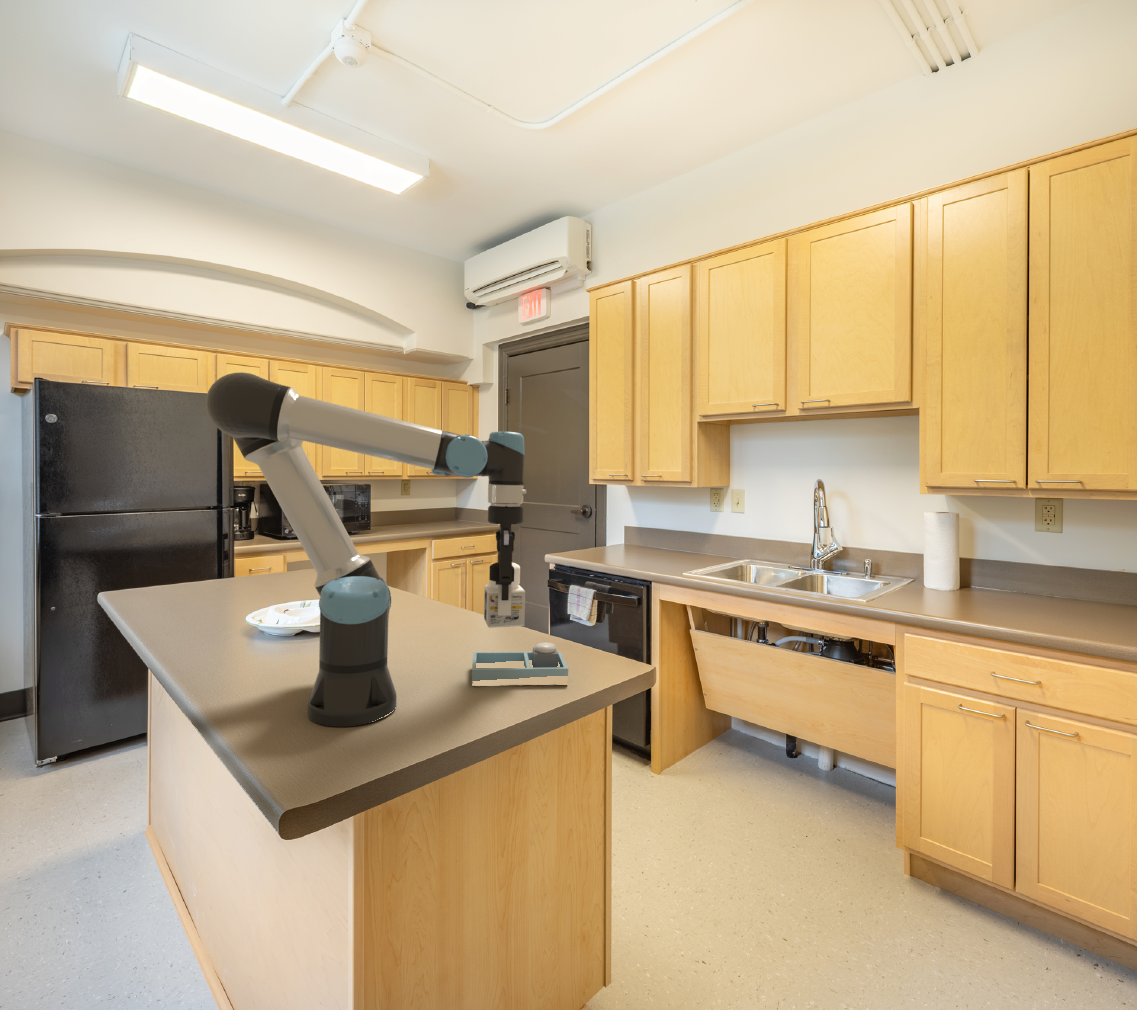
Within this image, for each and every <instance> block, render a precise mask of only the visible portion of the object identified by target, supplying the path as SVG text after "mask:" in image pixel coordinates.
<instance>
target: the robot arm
mask: <svg viewBox="0 0 1137 1010" xmlns="http://www.w3.org/2000/svg"><path fill="white" fill-rule="evenodd" d="M205 407H206V409H205V410H206V412H207V414H208V418H209V419H210V421H211V422H212V423H213V425H214V426H215V427H216V428H217V429H219V430H220V431H221V432H222V433H224V434H225V435H228V436H230V437H232V439H233V441H234V442H235V444H236V446H237V447H238V450H239V451H240V453H241V455H242V457H243V459H244V460H245V461H247V462H251V463H253V464H255V465H257V466H258V467H259V470H260V472H261V474H262V475H263V477H264V479H265V481H266V482H267V484H268V486H269V488H270V489H271V491H272V494H273V495H274V498H275V499H276V500H277V502H278V505H279V507H280V509H281V510H282V511H283V513H284V515H285V517H286V520H287V521H288V523H289V524H290V526H291V529H292V530H293V532H294V533H295V535H296V537H297V539H298V540H299V542H300V545H301V547H302V548H303V550H304V552H305V554H306V556H307V557H308V559H309V561H310V563H311V565H312V567H313V568H314V570H315V572H316V579H315V581H314V587H315V590H316V591H317V593H318V596H319V601H318V607H319V611H320V612H319V651H318V652H319V660H318V663H319V666H318V667H319V668H318V674H317V676H316V679H315V682H314V685H313V687H312V690H311V693H310V694H309V699H308V701H307V716H308V719H310V721H312V722H314V723H316V724H319V725H322V726H327V727H338V728H339V727H340V728H342V727H355V726H354V725H357V726H362V725H361V724H363V725H367V724H366V723H368V724H370V723H369V722H372V721H375V720H377V719H379V718H381V717H384V716H385V715H387V714H389V713H390V712H392V711H393V710H394V709H395V707H396V708H397V692H396V689H395V685H394V682H393V679H392V676H391V673H390V669H389V667H388V654H389V653H388V652H389V651H388V649H389V620H390V619H389V618H390V617H389V615H390V610H391V608H392V607H391V606H392V595H391V590H390V587H389V586H388V584H387V582H386V581H385V580H384V578H382V577H381V576H380V574H379V573H378V571H377V569H376V568H375V565H374V563H373V561H372V560H371V558H370V557H369V556H366V555H363V554H360V553H359V552H358V550H357V547H356V546H355V544H354V542H353V540H352V539H351V537H350V535H349V533H348V532H347V529H346V527H345V526H344V524H343V521H342V519H341V518H340V516H339V514H338V512H337V511H336V509H335V506H334V505H333V503H332V501H331V499H330V497H329V495H328V493H327V491H326V490H325V488H324V485H323V484H322V482H321V480H320V479H319V476H318V474H317V473H316V471H315V469H314V466H313V465H312V463H311V461H310V460H309V459H310V458H308V456H307V454H306V451H305V450H304V448H303V442H308V443H312V444H317V445H322V446H326V447H329V448H334V449H335V448H336V449H338V450H343V451H348V452H353V453H358V454H362V455H367V456H371V457H374V458H379V459H384V460H388V461H393V462H398V463H402V464H407V465H410V466H415V467H419V468H420V467H421V468H425V469H430V470H431V473H432V474H433V475H435V476H443V477H444V476H445V477H462V478H466V479H467V478H473V477H487V478H488V486H487V502H488V503H489V504H490V505H489V506H488V507H487V521H488V523H489V524H493V525H499V528H498V530H497V531H495V540H496V550H497V551H496V552H497V554H498V555H497V562H499V581H496V585H498V616H510V615H511V590H512V584H511V583H512V563H513V553H514V544H515V540H516V539H515V538H516V534H515V531H512V525H520V524H523V522H524V507H523V506H522V504H523V503H524V495H526V494H527V489H524V488H525V487H524V485H525V483H524V481H525V480H524V479H525V459H526V458H525V457H526V453H525V451H526V450H525V437H524V435H523V434H522V433H520V432H514V431H492V432H490V434H489V436H488V440H481V439H480V438H478V437H476V436H473V435H470V434H458V433H456V432H455V433H454V432H450V431H445V430H442V429H439V428H436V427H435V428H434V427H430V426H426V425H423V424H417V423H415V422H414V423H413V422H411V421H407V420H406V421H405V420H401V419H398V418H393V417H389V416H386V415H382V414H377V413H372V412H369V411H365V410H361V409H357V408H353V407H348V406H345V405H340V404H337V403H332V402H328V401H324V400H321V399H316V398H313V397H307V396H304V395H300V394H298V392H297V390H296V389H295V387H291V386H288V385H284V384H280V383H276V382H274V381H271V380H268V379H265V378H262V377H260V376H259V375H256V374H253V373H249V372H232V373H228V374H225V375H223V376H221V377H219V378H218V379H217V380H215V381H214V383H212V384H211V386H210V387H209V389H208V392H207V394H206V398H205ZM395 710H396V709H395ZM375 722H376V721H375ZM372 723H373V722H372Z"/></svg>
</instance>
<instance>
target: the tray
mask: <svg viewBox="0 0 1137 1010" xmlns="http://www.w3.org/2000/svg"><path fill="white" fill-rule="evenodd" d="M529 660H532V665H533V668H531V667H530V663H529ZM506 661H524V666H525V668H476V663H495V662H506ZM558 662H559V664H560V667H557V666H558ZM471 663H472V664H471V665H472V667H471V682H472V681H480V680H497V679H519V678H530V677H547V676H568V677H569V667H568V664H567V663H566V660H565V658H564V656H563V653H562V651H560V650H559V651H558V650H557V649H556V644H555V643H553V642H545V641H544V642H538V643H536V644H535V645H534V646H533V647H532V651H473V652H472V661H471Z"/></svg>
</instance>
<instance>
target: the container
mask: <svg viewBox="0 0 1137 1010" xmlns="http://www.w3.org/2000/svg"><path fill="white" fill-rule="evenodd" d="M488 579H489V584H485V585H484V586H483V588H484V590H483V591H484V593H483V594H484V596H483V619H484V621H485V624H486V625H487V627H488V628H491V629H492V628H513V627H514V628H515V627H525V624H526V623H525V621H526V617H525V616H526V615H525V614H526V591H525V589H524V588H523V587H522V586H521V585H520V584H521V566H520V565H519V564H517V563H516V562H512V583H511V584H512V590H511V615H510V616H498V585H496V581H499V562H498V561H497V562H494V563H492V564H490V565H489V578H488Z"/></svg>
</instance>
